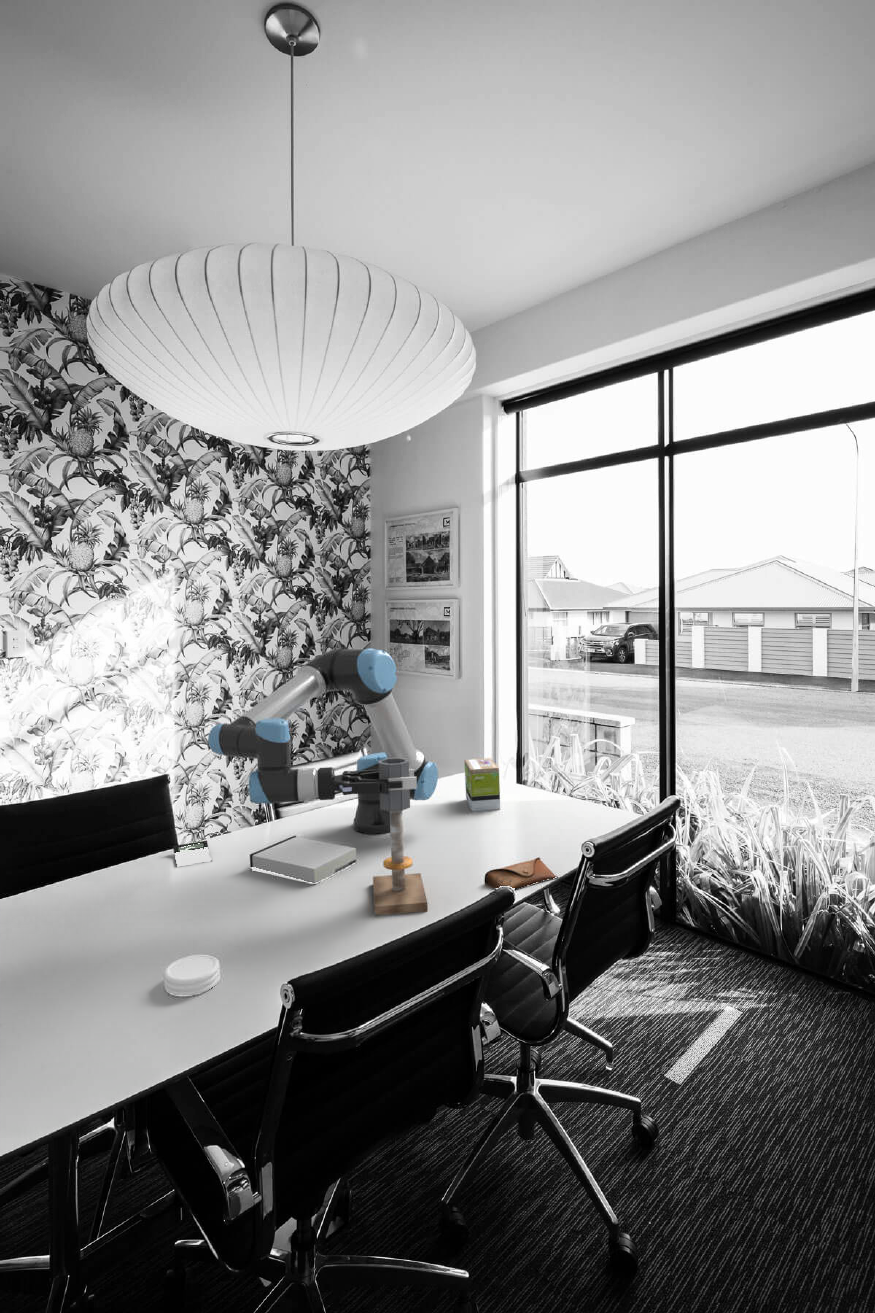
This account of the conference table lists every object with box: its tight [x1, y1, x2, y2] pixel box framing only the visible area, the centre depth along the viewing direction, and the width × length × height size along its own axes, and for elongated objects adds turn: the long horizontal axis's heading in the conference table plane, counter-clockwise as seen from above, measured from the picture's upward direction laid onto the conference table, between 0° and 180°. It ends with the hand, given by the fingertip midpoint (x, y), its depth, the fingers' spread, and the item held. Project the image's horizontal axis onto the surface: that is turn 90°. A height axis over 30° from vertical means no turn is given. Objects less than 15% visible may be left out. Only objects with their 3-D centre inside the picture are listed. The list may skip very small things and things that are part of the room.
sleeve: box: [379, 758, 411, 812], centre depth 170 cm, size 7×7×11 cm
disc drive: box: [249, 835, 357, 883], centre depth 194 cm, size 18×22×5 cm
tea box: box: [464, 757, 501, 812], centre depth 248 cm, size 15×10×15 cm, turn 6°
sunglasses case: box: [483, 856, 559, 891], centre depth 180 cm, size 18×7×7 cm, turn 123°
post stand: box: [372, 810, 429, 916], centre depth 171 cm, size 12×18×22 cm, turn 6°
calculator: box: [172, 840, 209, 854], centre depth 204 cm, size 9×12×3 cm
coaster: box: [163, 954, 221, 995], centre depth 135 cm, size 10×10×4 cm
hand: (415, 778), depth 170 cm, fingers closed on sleeve, 7 cm apart
